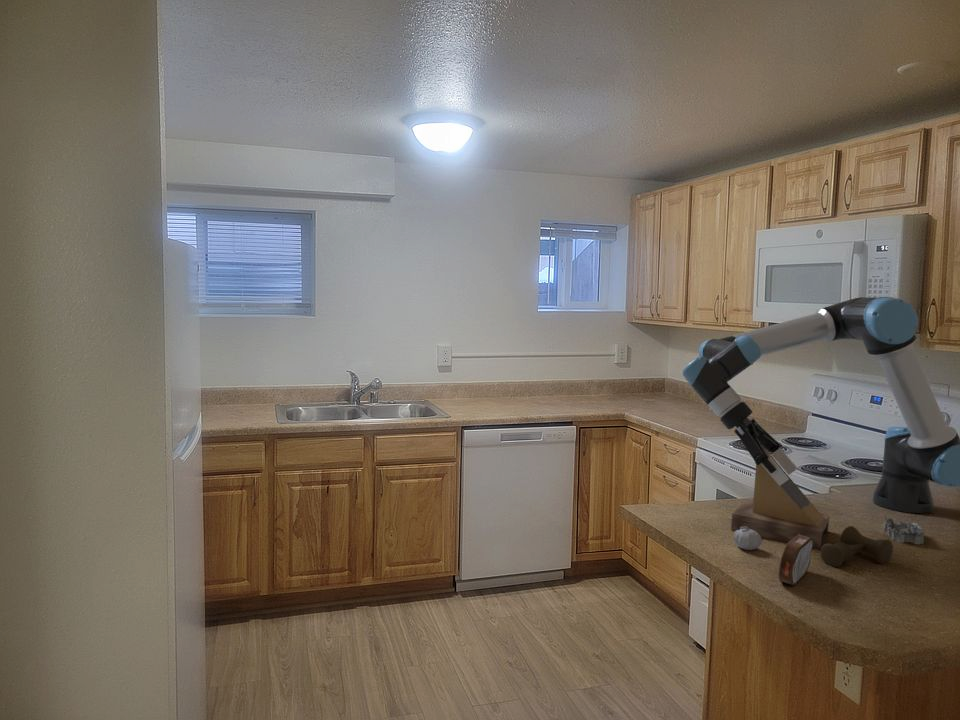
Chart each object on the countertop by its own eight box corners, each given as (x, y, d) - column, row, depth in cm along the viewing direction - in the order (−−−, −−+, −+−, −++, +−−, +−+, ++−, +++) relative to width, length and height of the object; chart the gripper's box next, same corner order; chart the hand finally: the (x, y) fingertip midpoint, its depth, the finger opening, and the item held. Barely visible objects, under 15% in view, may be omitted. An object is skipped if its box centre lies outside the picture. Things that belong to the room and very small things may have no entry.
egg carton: (880, 529, 177) (882, 513, 177) (914, 533, 175) (916, 518, 175) (890, 542, 167) (892, 525, 167) (926, 547, 165) (928, 530, 164)
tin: (797, 566, 148) (800, 528, 147) (812, 570, 146) (816, 532, 145) (775, 587, 136) (779, 546, 136) (792, 592, 134) (796, 550, 134)
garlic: (731, 550, 157) (733, 527, 156) (733, 542, 161) (735, 521, 161) (760, 555, 154) (762, 532, 154) (761, 547, 159) (762, 525, 159)
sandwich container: (819, 527, 162) (824, 464, 161) (751, 512, 171) (756, 453, 170) (825, 518, 169) (831, 458, 168) (760, 505, 178) (765, 448, 177)
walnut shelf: (828, 531, 173) (829, 514, 173) (820, 549, 159) (821, 531, 159) (745, 514, 184) (746, 499, 183) (730, 530, 170) (732, 513, 170)
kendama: (808, 560, 154) (860, 545, 164) (849, 578, 145) (902, 560, 155) (810, 535, 153) (863, 521, 163) (852, 550, 144) (905, 535, 154)
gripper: (730, 412, 188) (785, 475, 182) (706, 424, 167) (767, 496, 161) (752, 395, 185) (808, 459, 178) (730, 405, 164) (793, 478, 157)
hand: (789, 477), depth 170 cm, fingers open, 13 cm apart
